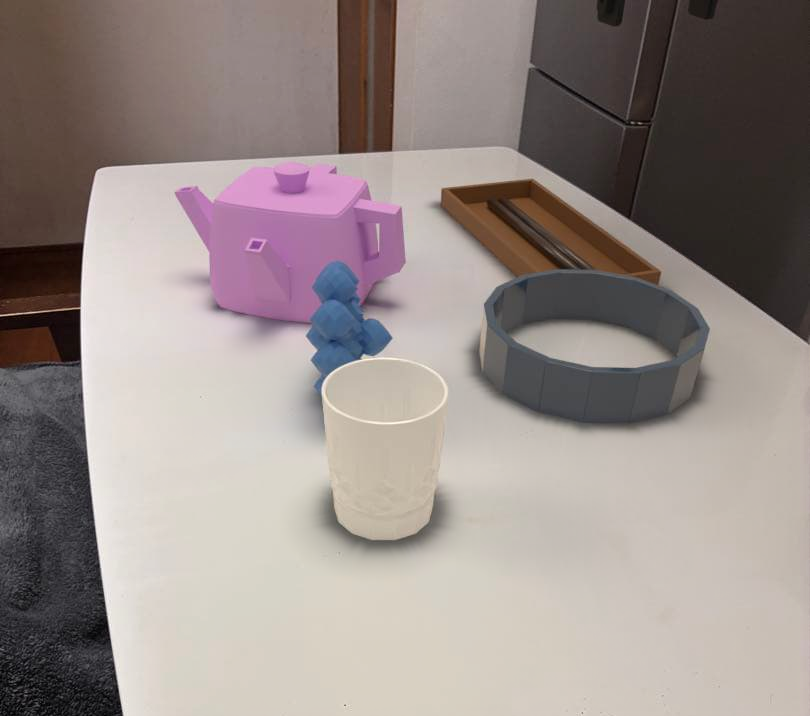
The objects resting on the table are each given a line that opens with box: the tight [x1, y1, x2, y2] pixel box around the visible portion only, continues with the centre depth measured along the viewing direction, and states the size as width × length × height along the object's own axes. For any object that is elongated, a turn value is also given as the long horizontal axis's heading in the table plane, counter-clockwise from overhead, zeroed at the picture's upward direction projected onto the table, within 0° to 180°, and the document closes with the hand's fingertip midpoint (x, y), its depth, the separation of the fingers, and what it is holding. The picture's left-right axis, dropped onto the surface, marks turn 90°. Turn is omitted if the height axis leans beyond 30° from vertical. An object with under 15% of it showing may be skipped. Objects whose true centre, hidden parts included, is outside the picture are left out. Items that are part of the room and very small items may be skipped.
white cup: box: [321, 356, 450, 541], centre depth 56 cm, size 8×8×10 cm
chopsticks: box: [487, 197, 596, 270], centre depth 94 cm, size 3×24×1 cm, turn 21°
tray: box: [440, 178, 662, 286], centre depth 94 cm, size 28×12×2 cm, turn 21°
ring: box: [478, 269, 711, 424], centre depth 74 cm, size 19×19×5 cm
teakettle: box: [174, 161, 407, 324], centre depth 81 cm, size 17×17×12 cm
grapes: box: [305, 261, 393, 397], centre depth 66 cm, size 12×7×12 cm, turn 0°
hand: (655, 20), depth 78 cm, fingers open, 9 cm apart
